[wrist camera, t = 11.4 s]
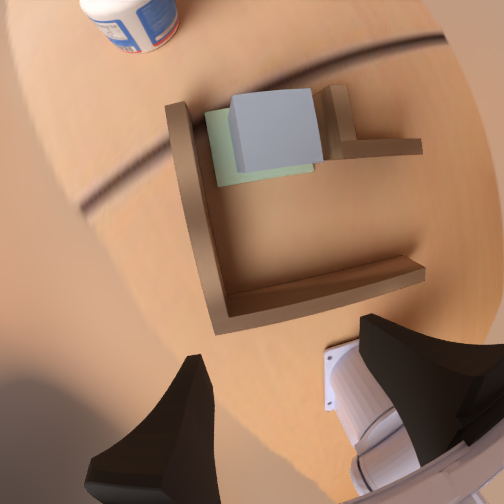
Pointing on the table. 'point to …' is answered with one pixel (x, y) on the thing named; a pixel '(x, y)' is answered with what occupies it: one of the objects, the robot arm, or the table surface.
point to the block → (274, 130)
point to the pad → (226, 158)
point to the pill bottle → (134, 22)
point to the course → (302, 291)
